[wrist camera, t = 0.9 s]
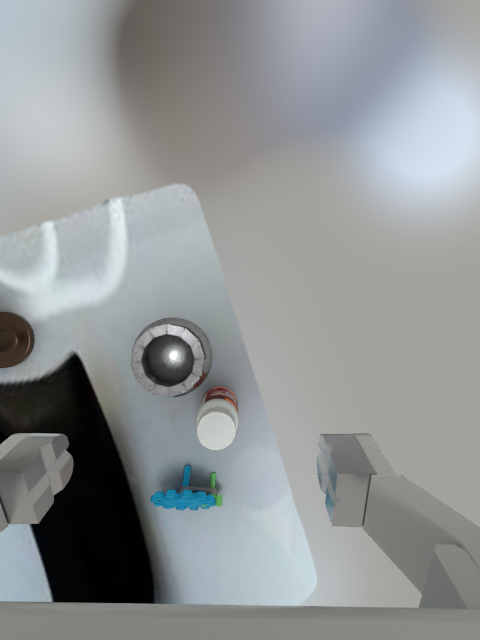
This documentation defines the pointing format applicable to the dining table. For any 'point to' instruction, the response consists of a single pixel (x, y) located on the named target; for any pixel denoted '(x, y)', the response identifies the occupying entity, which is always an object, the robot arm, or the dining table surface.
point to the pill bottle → (217, 418)
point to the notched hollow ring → (171, 357)
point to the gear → (188, 495)
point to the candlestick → (14, 339)
